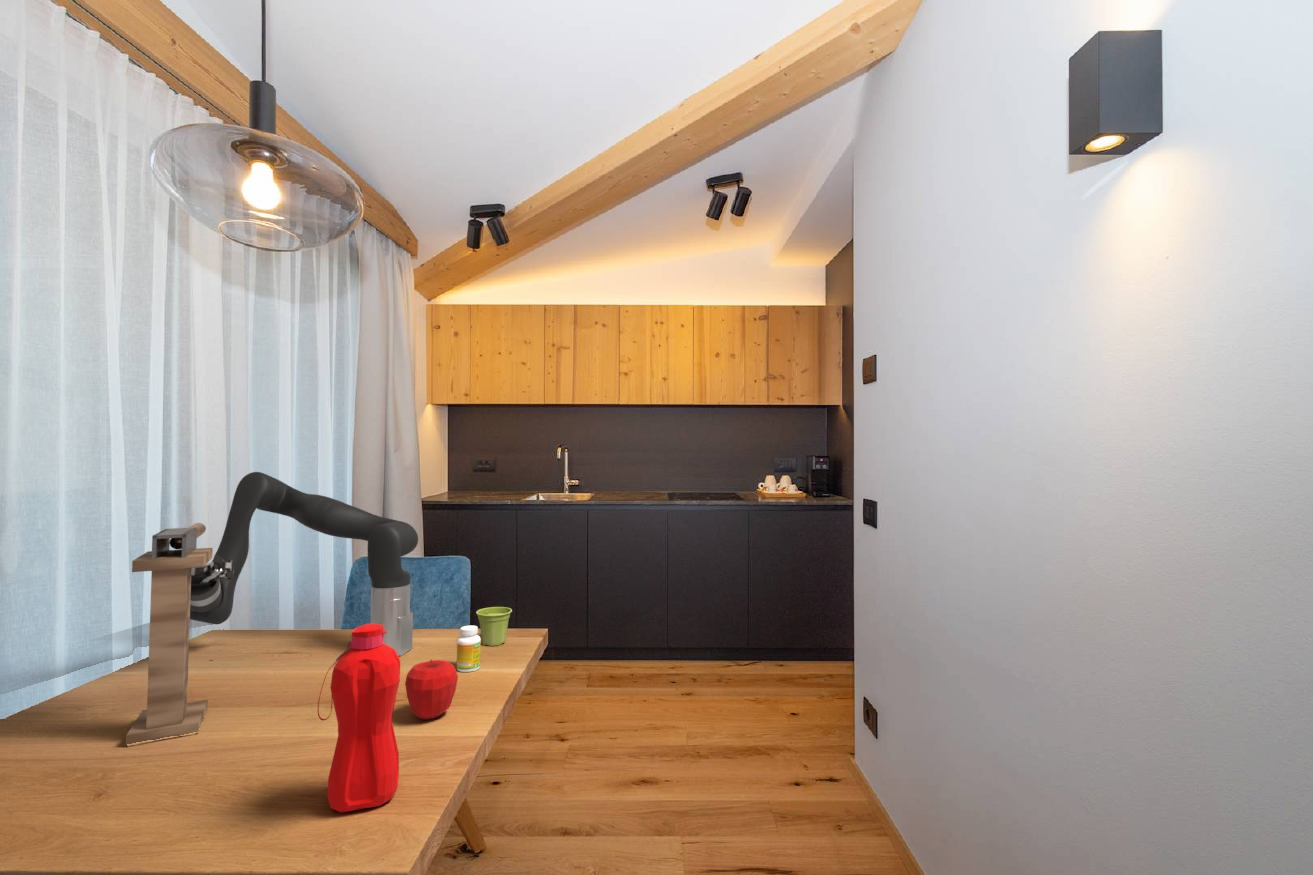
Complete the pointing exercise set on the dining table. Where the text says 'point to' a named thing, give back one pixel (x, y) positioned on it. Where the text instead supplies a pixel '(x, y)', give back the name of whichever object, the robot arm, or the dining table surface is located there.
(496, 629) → the plant pot
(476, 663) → the supplement bottle
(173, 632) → the wooden pedestal stand
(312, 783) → the dining table surface
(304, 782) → the dining table surface
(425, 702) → the apple
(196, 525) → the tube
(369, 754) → the water bottle
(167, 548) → the grey hollow box
